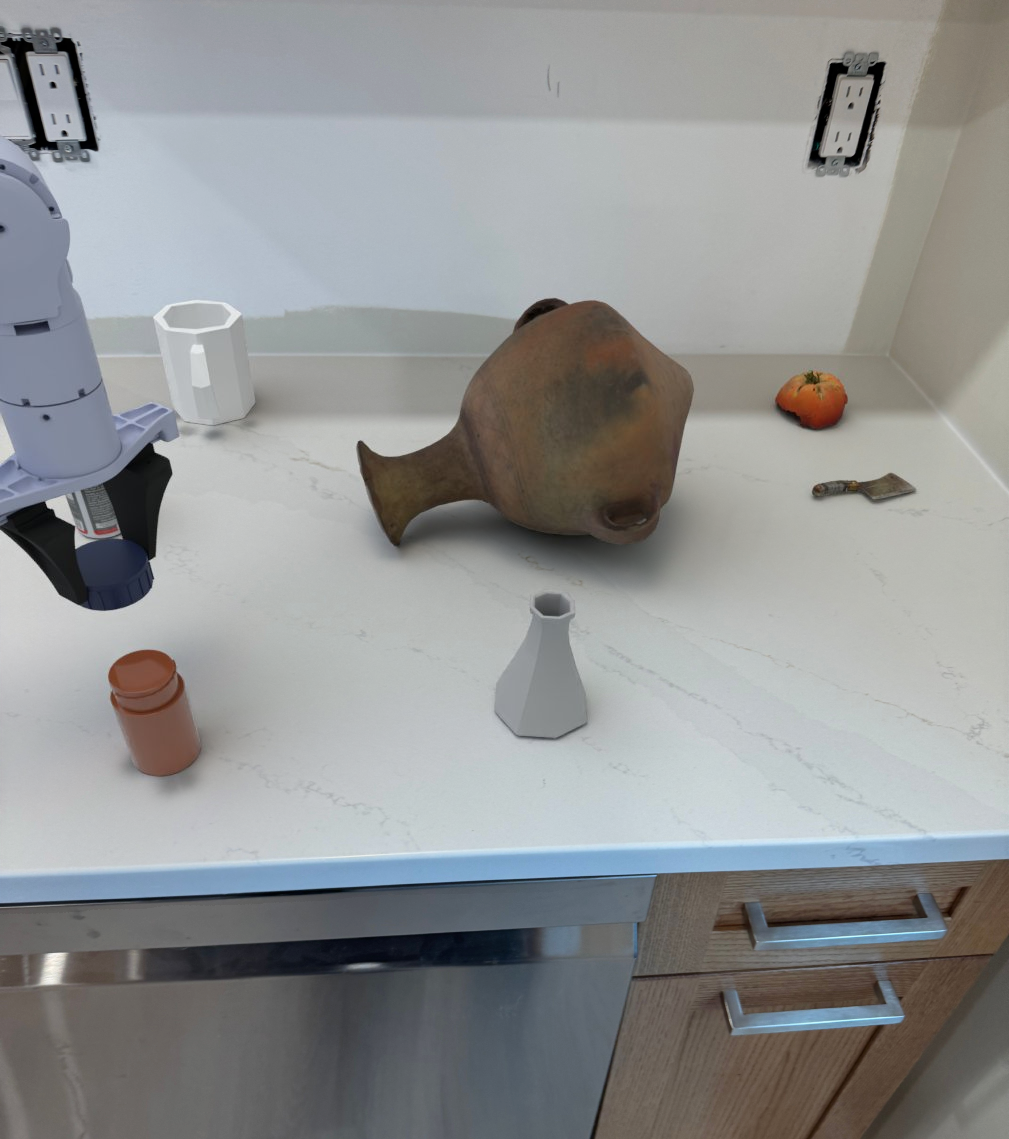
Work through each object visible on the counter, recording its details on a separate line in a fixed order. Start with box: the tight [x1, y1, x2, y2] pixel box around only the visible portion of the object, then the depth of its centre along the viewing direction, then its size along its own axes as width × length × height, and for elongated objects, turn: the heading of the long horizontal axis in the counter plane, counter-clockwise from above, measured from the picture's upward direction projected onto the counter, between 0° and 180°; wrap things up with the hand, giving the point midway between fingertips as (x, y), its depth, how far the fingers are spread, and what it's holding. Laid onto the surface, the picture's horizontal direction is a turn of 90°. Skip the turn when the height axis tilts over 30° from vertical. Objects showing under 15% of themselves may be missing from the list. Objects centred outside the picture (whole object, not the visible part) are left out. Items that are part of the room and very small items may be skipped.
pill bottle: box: [64, 483, 121, 539], centre depth 77 cm, size 5×5×8 cm
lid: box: [75, 537, 155, 612], centre depth 59 cm, size 5×5×2 cm
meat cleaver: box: [811, 472, 917, 500], centre depth 91 cm, size 12×1×5 cm
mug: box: [152, 299, 256, 426], centre depth 92 cm, size 12×9×10 cm
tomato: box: [774, 367, 849, 430], centre depth 102 cm, size 8×7×7 cm
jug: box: [355, 297, 695, 547], centre depth 78 cm, size 20×20×30 cm
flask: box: [494, 588, 588, 739], centre depth 64 cm, size 7×7×10 cm
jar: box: [107, 649, 202, 777], centre depth 59 cm, size 5×5×8 cm
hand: (109, 574), depth 60 cm, fingers closed on lid, 5 cm apart
